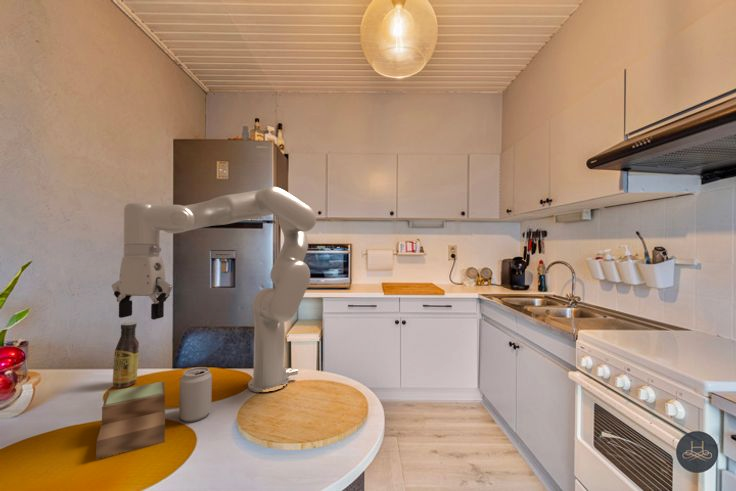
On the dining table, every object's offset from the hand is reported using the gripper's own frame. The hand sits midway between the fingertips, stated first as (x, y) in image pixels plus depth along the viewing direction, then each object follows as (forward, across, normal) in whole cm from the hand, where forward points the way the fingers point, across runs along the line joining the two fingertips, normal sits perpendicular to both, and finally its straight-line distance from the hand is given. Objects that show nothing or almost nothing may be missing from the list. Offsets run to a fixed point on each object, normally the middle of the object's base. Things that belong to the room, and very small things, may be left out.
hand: (141, 317), depth 81 cm
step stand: (+26, -4, +5) cm, 27 cm away
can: (+27, -12, -5) cm, 30 cm away
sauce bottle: (+27, +23, -16) cm, 39 cm away
